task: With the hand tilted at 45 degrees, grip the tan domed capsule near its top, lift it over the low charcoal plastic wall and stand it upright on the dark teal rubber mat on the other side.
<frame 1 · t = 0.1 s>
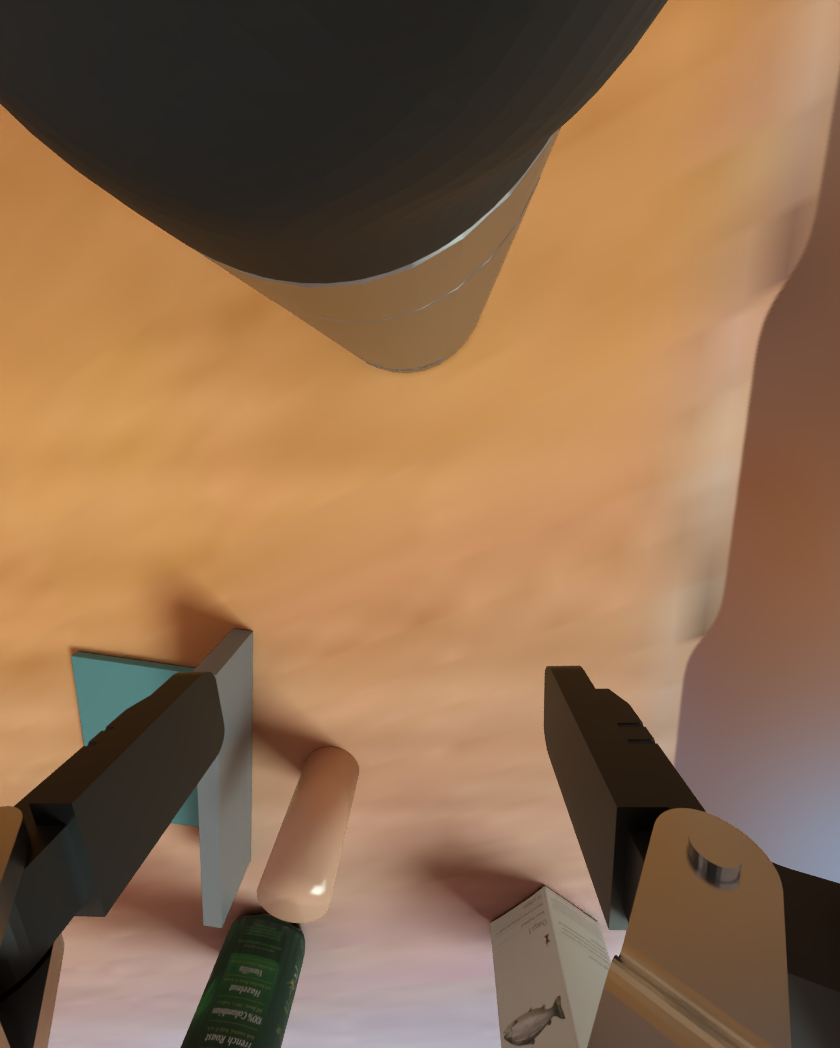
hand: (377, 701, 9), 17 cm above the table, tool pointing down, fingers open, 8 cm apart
teal mat: (154, 742, 33), on the table
coffee jar: (268, 938, 39), on the table
tan domed capsule: (332, 768, 32), on the table
low wall: (242, 755, 33), on the table
supplement box: (542, 918, 37), on the table
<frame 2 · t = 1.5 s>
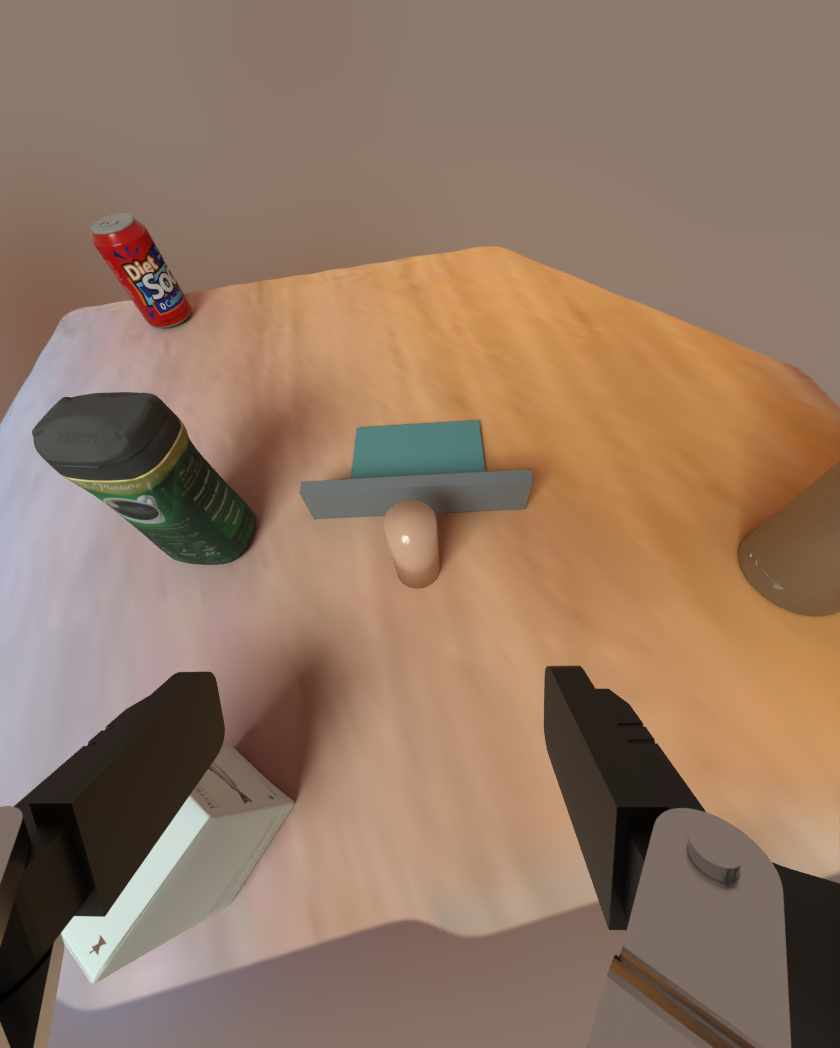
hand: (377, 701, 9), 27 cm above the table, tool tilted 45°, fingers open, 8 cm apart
teal mat: (417, 458, 49), on the table
soda can: (173, 320, 71), on the table
coffee jar: (216, 537, 45), on the table
tan domed capsule: (418, 568, 41), on the table
low wall: (418, 508, 45), on the table
supplement box: (233, 818, 31), on the table
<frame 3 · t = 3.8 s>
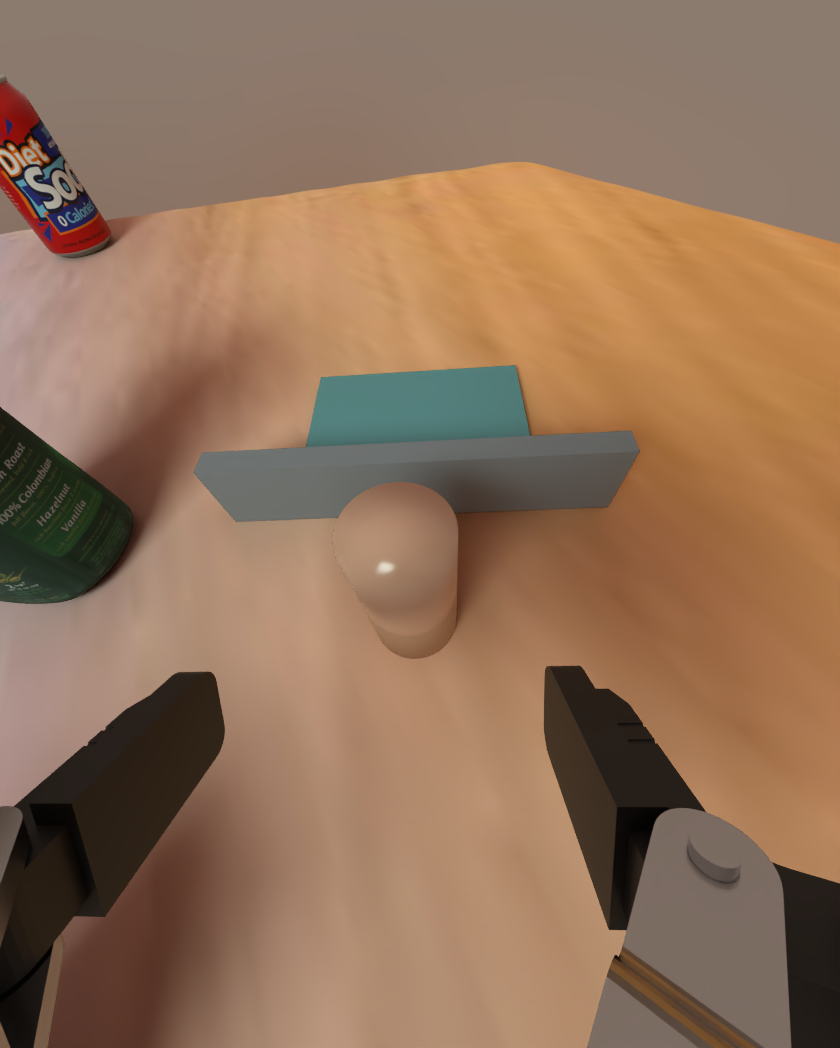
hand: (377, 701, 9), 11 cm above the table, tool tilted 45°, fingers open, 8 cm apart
teal mat: (416, 424, 30), on the table
soda can: (86, 249, 52), on the table
coffee jar: (66, 551, 26), on the table
tan domed capsule: (415, 616, 22), on the table
low wall: (416, 505, 26), on the table
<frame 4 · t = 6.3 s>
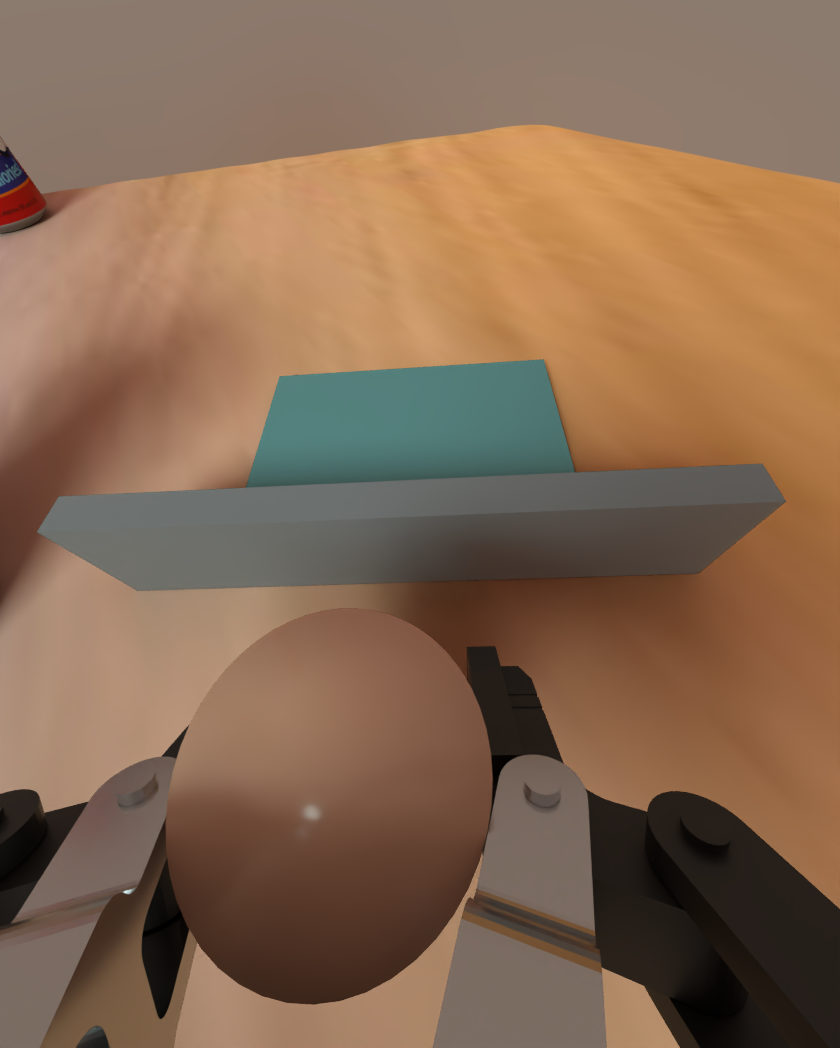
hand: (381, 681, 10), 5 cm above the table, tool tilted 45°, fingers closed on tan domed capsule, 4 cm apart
teal mat: (408, 441, 21), on the table
soda can: (18, 224, 44), on the table
tan domed capsule: (400, 769, 13), on the table, touching gripper
low wall: (406, 566, 17), on the table
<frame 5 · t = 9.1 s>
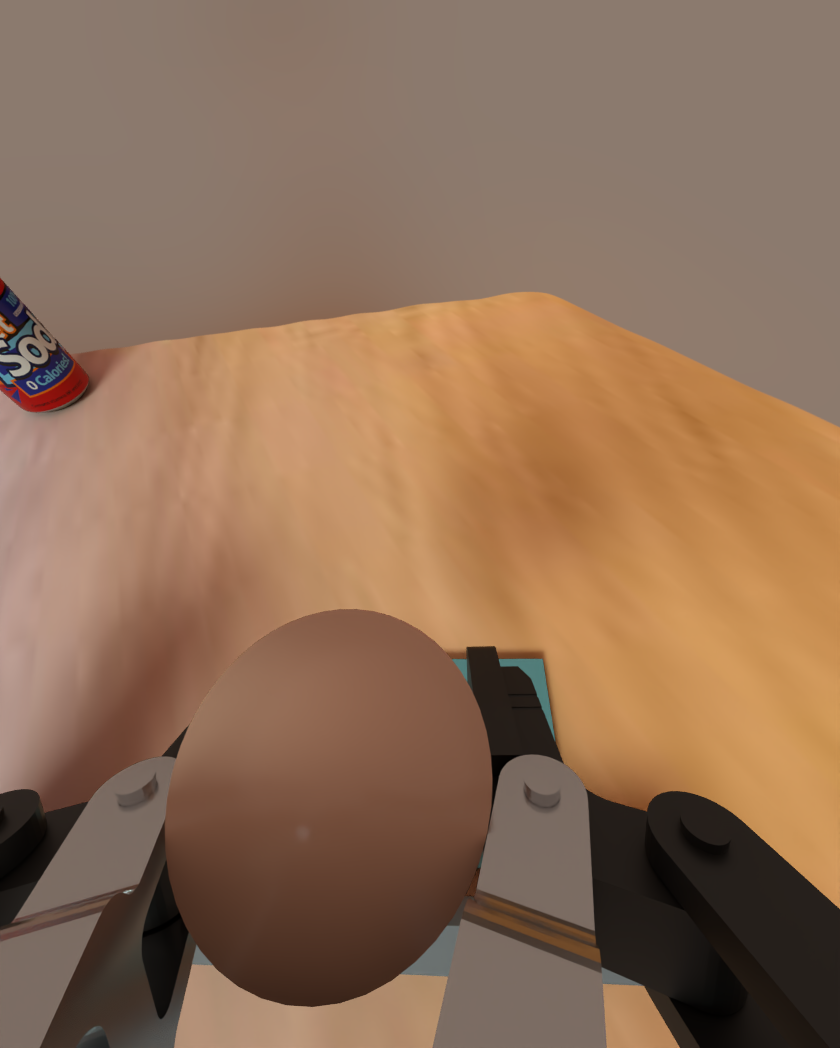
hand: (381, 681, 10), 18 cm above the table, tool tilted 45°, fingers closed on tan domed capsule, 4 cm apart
teal mat: (426, 750, 25), on the table
soda can: (62, 397, 48), on the table
tan domed capsule: (400, 769, 13), point 13 cm above the table, touching gripper
low wall: (425, 913, 21), on the table
when the fingers open (6 cm above the table, at t = 12.4 s): tan domed capsule drops 1 cm, resting on teal mat.
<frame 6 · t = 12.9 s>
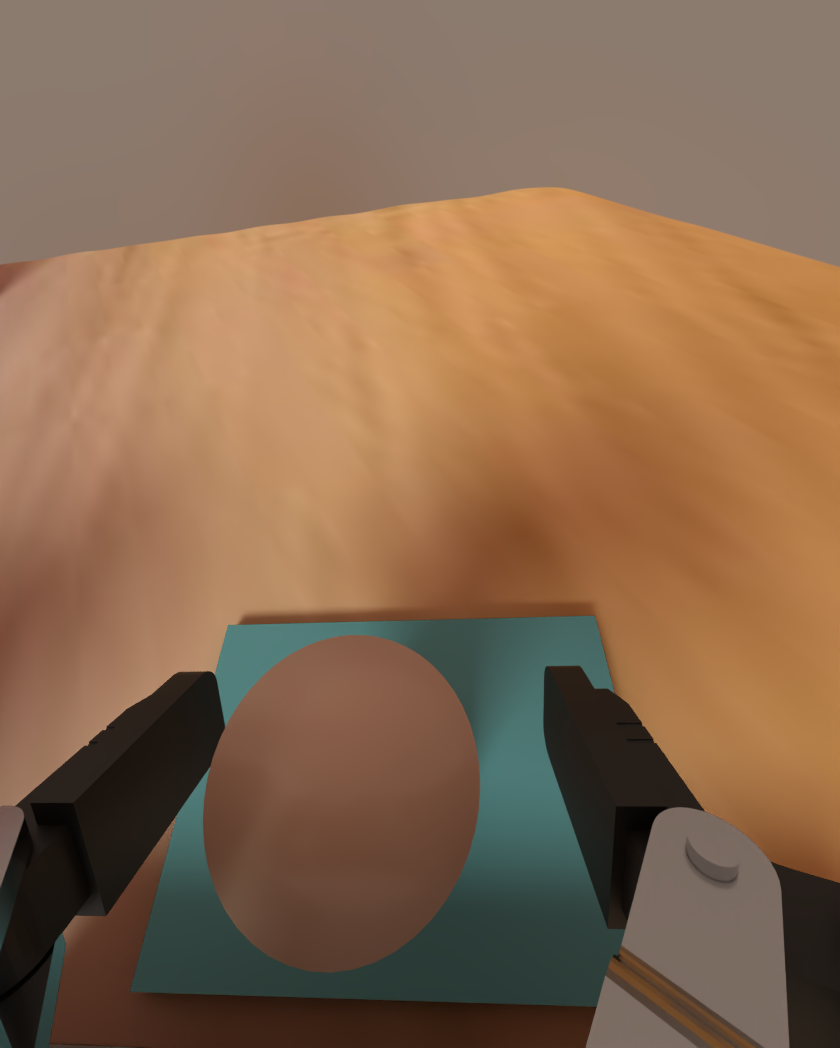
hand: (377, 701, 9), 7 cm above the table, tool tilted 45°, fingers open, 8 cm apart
teal mat: (405, 770, 15), on the table
tan domed capsule: (402, 772, 14), point 1 cm above the table, touching teal mat
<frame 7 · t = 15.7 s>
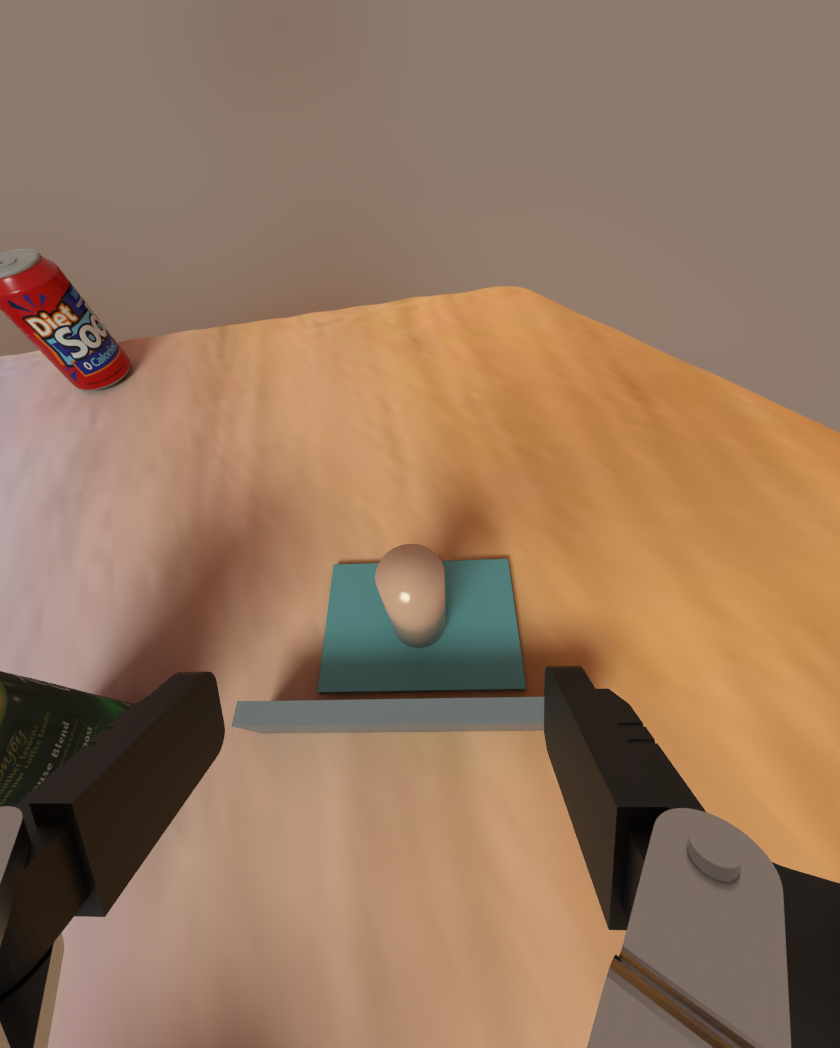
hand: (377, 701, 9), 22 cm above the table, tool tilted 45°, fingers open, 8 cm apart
teal mat: (420, 622, 33), on the table
soda can: (107, 378, 56), on the table
coffee jar: (113, 761, 29), on the table
tan domed capsule: (419, 620, 33), point 1 cm above the table, touching teal mat
low wall: (421, 720, 29), on the table
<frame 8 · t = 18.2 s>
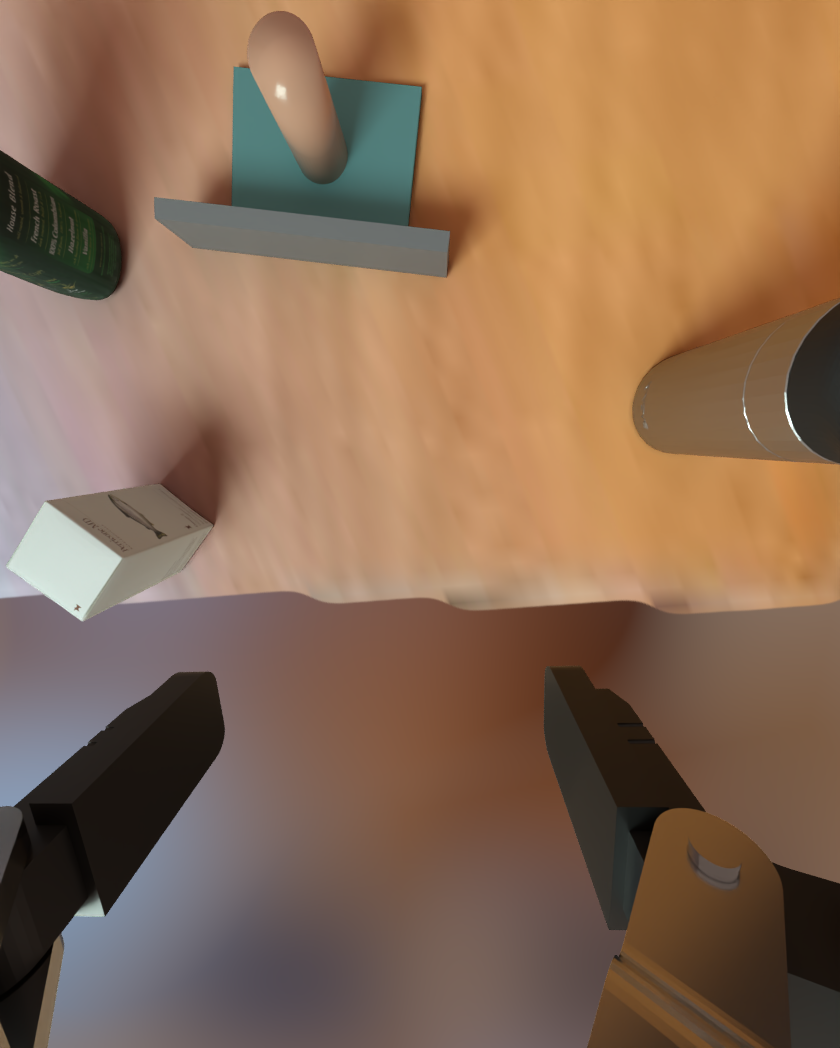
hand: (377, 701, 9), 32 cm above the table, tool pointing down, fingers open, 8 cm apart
teal mat: (324, 158, 35), on the table
coffee jar: (79, 255, 37), on the table
tan domed capsule: (322, 154, 34), point 1 cm above the table, touching teal mat
low wall: (319, 253, 36), on the table
supplement box: (172, 527, 43), on the table
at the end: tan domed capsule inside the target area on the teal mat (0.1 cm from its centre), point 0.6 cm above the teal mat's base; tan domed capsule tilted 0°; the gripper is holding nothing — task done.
